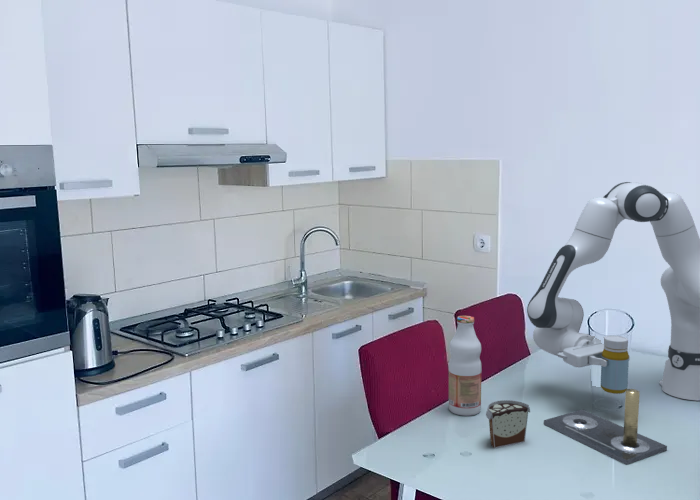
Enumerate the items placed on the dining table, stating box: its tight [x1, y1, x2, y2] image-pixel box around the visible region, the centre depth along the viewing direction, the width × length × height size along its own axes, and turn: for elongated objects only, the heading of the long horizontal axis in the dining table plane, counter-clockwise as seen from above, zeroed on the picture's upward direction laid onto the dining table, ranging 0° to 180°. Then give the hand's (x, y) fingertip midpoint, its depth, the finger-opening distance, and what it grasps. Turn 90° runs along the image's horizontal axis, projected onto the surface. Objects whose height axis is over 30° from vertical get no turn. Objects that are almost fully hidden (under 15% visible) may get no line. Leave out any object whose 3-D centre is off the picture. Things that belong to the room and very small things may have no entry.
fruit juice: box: [448, 315, 482, 417], centre depth 187 cm, size 9×9×28 cm
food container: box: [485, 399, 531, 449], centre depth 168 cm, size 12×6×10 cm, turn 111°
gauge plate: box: [543, 388, 668, 465], centre depth 169 cm, size 15×27×15 cm, turn 28°
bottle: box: [600, 334, 630, 395], centre depth 180 cm, size 7×7×15 cm
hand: (617, 361), depth 179 cm, fingers closed on bottle, 7 cm apart
